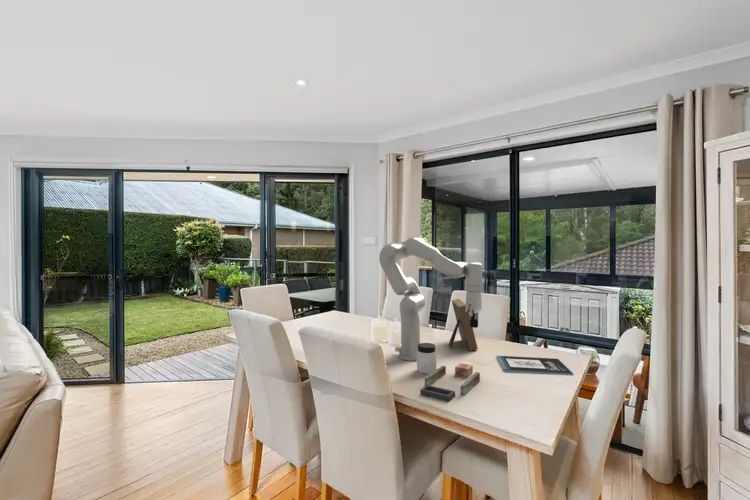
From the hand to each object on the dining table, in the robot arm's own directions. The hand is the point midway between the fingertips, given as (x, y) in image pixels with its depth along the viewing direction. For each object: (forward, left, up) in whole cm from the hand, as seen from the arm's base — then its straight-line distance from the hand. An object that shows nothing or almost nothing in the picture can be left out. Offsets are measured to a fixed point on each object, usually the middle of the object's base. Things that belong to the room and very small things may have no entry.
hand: (474, 327), depth 184 cm
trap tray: (0, -41, -19) cm, 45 cm away
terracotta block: (0, -13, -19) cm, 23 cm away
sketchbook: (+23, +16, -20) cm, 34 cm away
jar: (-16, -18, -19) cm, 31 cm away
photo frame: (-19, +31, -19) cm, 41 cm away
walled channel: (0, -26, -19) cm, 32 cm away
